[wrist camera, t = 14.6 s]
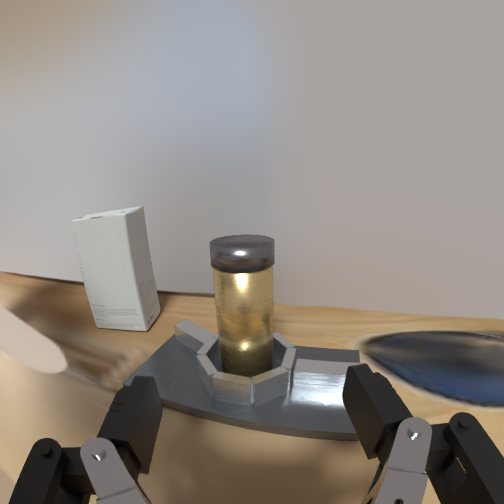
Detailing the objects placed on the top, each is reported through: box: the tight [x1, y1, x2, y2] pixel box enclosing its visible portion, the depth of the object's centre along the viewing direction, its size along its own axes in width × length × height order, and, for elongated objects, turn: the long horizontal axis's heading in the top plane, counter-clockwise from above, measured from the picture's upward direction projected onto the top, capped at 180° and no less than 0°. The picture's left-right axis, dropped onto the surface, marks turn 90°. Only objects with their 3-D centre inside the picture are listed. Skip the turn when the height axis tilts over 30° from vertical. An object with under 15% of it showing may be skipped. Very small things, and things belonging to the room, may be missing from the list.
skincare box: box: [72, 207, 160, 331], centre depth 32 cm, size 8×6×15 cm
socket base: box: [123, 319, 362, 441], centre depth 23 cm, size 20×11×4 cm, turn 73°
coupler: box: [210, 235, 274, 377], centre depth 22 cm, size 5×5×12 cm
